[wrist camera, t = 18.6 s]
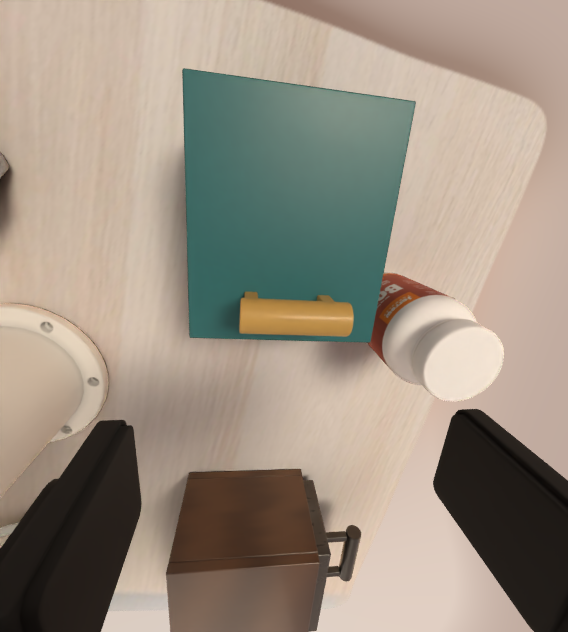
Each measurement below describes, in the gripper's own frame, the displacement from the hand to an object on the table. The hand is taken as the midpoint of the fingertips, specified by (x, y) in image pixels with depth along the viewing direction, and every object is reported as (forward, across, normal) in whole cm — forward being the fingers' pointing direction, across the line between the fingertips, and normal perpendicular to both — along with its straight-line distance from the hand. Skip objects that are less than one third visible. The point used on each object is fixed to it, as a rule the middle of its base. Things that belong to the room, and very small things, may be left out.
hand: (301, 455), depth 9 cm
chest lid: (+10, -1, -6) cm, 11 cm away
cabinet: (+18, +1, +24) cm, 30 cm away
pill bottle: (+18, -11, 0) cm, 20 cm away
